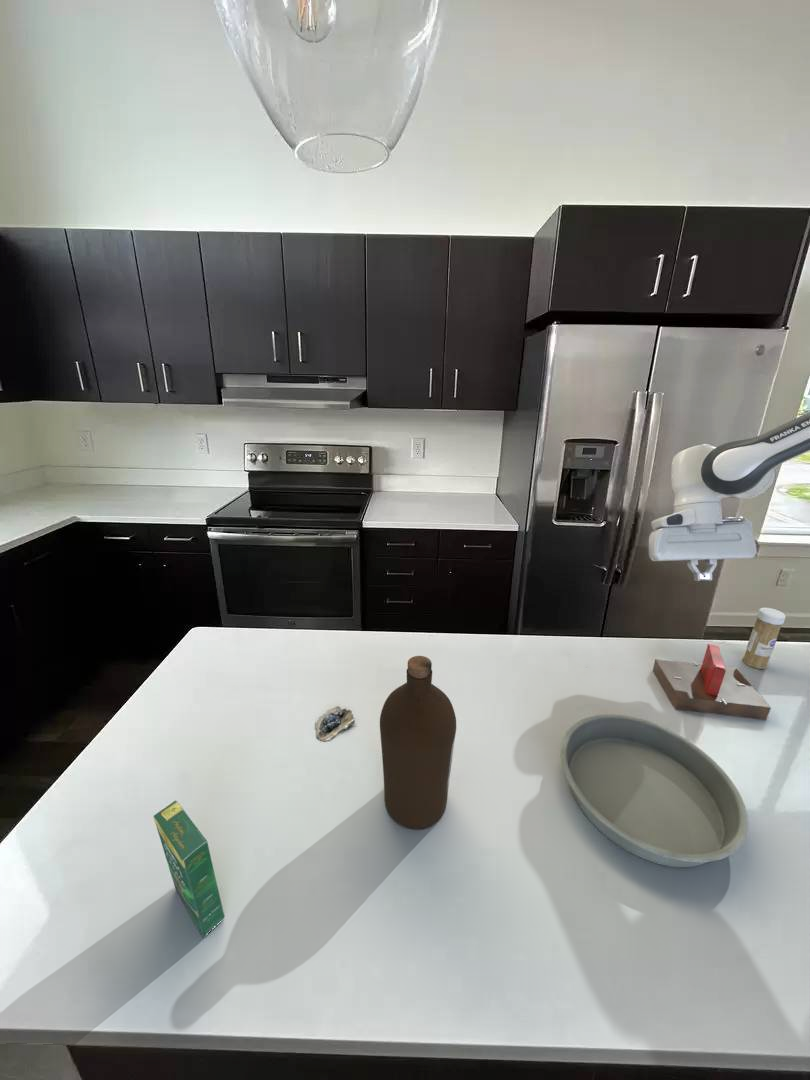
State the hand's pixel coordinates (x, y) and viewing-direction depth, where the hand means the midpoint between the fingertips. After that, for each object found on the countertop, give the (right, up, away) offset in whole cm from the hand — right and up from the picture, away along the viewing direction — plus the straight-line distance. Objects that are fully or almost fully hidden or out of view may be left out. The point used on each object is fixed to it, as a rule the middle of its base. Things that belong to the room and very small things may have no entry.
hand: (703, 580), depth 94 cm
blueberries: (-79, -25, -16) cm, 84 cm away
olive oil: (-64, -31, -29) cm, 77 cm away
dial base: (-4, -23, -6) cm, 24 cm away
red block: (-4, -20, -7) cm, 21 cm away
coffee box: (-91, -35, -42) cm, 106 cm away
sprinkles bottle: (+14, -19, +3) cm, 24 cm away
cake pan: (-29, -31, -28) cm, 51 cm away
